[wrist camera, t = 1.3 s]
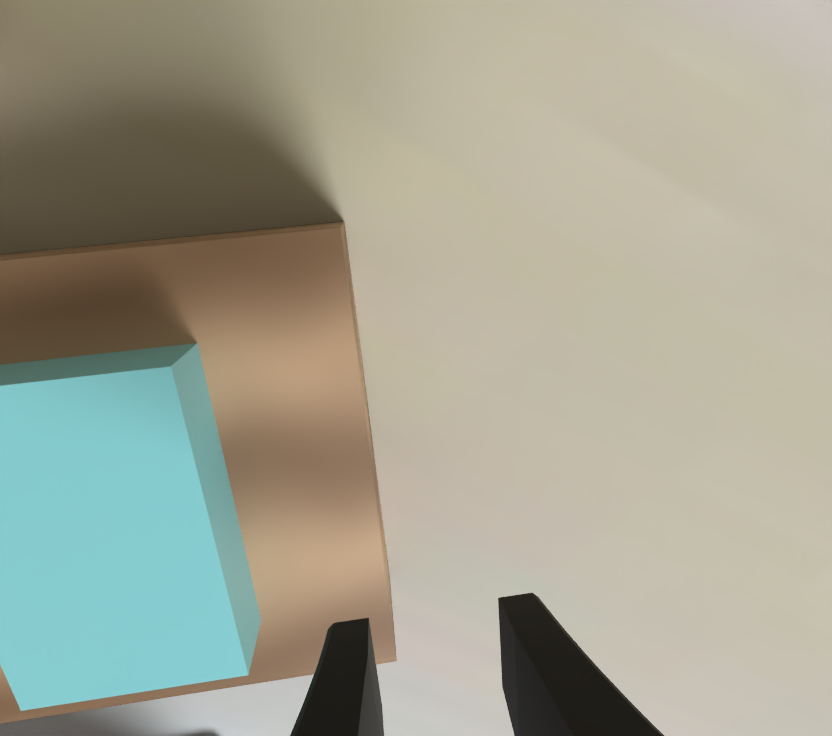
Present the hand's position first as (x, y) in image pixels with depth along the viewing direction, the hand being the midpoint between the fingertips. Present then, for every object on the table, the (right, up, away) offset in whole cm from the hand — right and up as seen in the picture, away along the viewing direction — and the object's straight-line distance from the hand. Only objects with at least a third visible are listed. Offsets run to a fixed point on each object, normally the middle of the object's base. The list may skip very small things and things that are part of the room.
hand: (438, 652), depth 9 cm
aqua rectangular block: (-9, +1, +5) cm, 10 cm away
